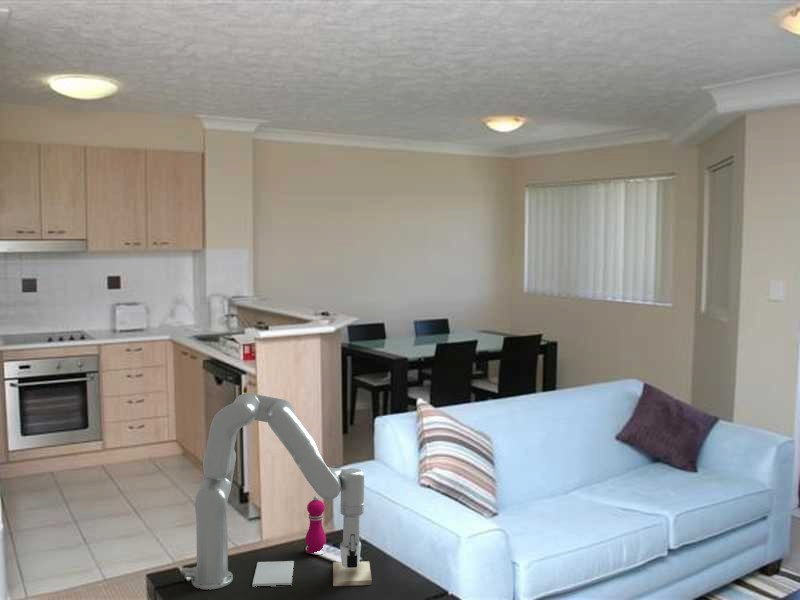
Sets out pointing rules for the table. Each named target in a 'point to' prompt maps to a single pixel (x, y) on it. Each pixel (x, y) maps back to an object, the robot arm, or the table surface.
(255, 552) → the table surface
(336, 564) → the birch board
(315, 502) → the pepper mill
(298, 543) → the table surface
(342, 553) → the shot glass
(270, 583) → the grey tile
